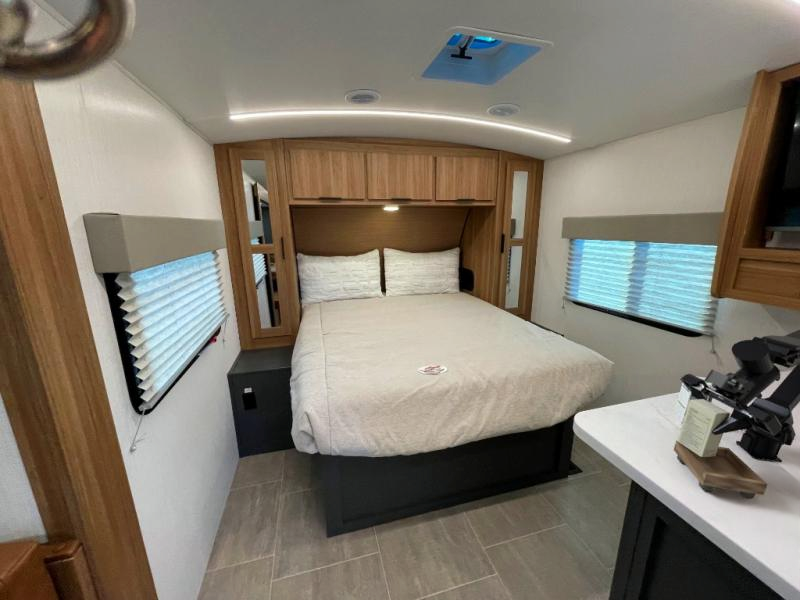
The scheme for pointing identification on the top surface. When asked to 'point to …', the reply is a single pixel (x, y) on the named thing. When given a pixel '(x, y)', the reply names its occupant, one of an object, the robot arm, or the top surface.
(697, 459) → the shallow wooden tray
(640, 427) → the top surface
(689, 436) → the skincare box
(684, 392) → the syrup box
